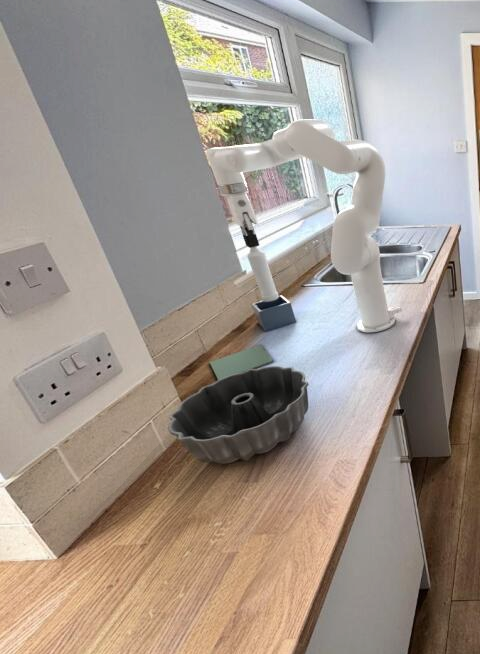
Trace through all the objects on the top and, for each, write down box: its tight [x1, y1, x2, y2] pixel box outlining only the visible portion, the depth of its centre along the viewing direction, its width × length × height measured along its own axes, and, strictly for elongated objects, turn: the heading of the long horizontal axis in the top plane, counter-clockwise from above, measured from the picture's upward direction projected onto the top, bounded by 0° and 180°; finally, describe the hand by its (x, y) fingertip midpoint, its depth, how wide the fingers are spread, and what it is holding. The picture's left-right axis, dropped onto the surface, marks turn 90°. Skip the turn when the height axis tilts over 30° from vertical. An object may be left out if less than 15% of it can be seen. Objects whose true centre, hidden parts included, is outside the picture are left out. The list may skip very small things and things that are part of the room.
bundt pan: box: [167, 365, 310, 464], centre depth 91 cm, size 26×26×10 cm
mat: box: [209, 344, 274, 381], centre depth 122 cm, size 14×14×1 cm
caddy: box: [251, 295, 297, 332], centre depth 145 cm, size 10×10×8 cm
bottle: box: [246, 246, 280, 302], centre depth 137 cm, size 5×5×25 cm
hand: (252, 245), depth 134 cm, fingers closed on bottle, 2 cm apart
